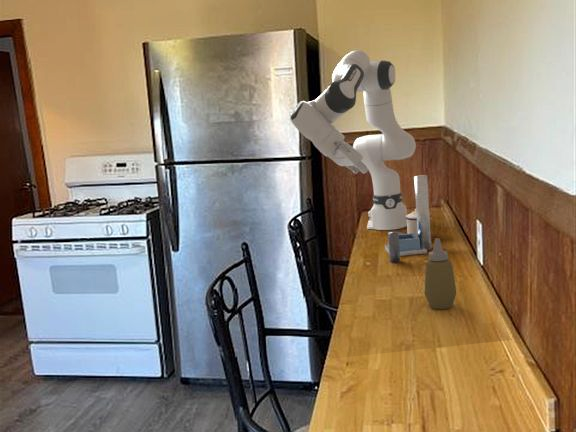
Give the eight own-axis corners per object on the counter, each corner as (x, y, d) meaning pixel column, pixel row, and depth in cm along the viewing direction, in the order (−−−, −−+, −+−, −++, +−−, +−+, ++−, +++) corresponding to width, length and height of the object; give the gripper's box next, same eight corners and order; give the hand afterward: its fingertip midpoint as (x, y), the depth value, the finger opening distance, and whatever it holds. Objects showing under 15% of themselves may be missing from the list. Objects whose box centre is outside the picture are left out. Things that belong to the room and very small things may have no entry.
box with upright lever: (381, 244, 224) (376, 175, 219) (422, 240, 224) (418, 171, 219) (391, 256, 206) (385, 182, 201) (435, 252, 206) (431, 177, 201)
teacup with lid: (432, 240, 222) (430, 210, 219) (407, 242, 224) (405, 211, 221) (431, 233, 233) (429, 204, 231) (407, 234, 235) (405, 205, 233)
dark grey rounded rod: (389, 260, 202) (387, 231, 200) (399, 259, 202) (397, 230, 200) (391, 263, 198) (388, 233, 196) (401, 262, 198) (399, 232, 196)
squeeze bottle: (426, 312, 151) (422, 243, 148) (424, 301, 159) (419, 236, 156) (459, 310, 150) (455, 241, 147) (455, 300, 158) (451, 234, 155)
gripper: (346, 133, 182) (378, 164, 185) (330, 137, 203) (359, 165, 205) (332, 149, 182) (364, 179, 184) (318, 151, 202) (347, 179, 205)
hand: (361, 172), depth 195 cm, fingers open, 8 cm apart
